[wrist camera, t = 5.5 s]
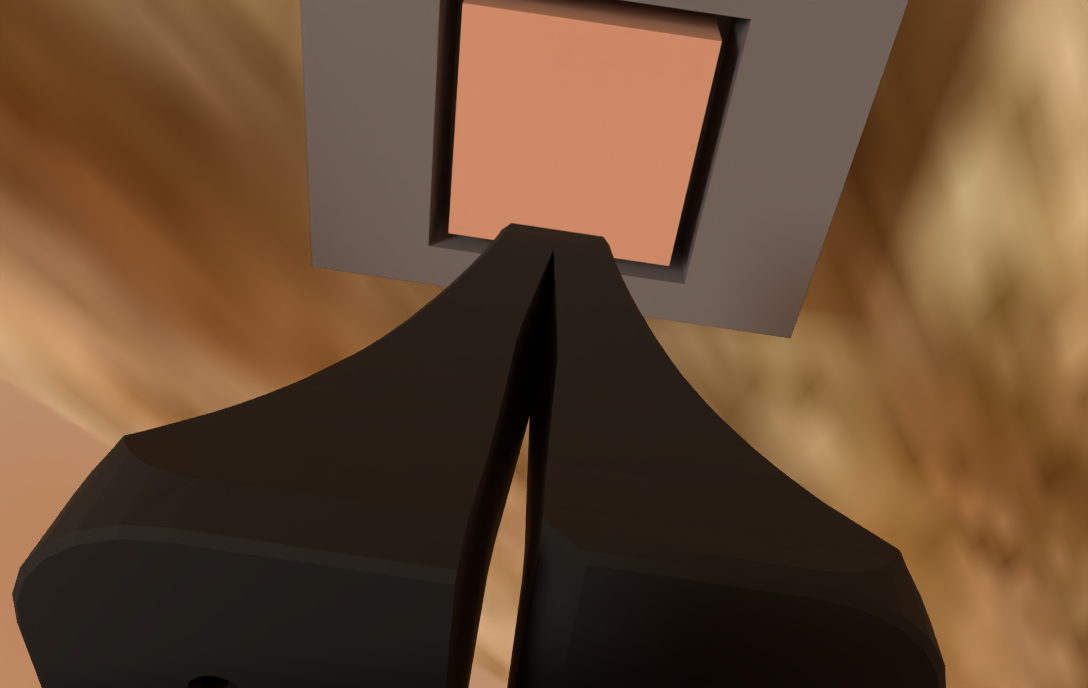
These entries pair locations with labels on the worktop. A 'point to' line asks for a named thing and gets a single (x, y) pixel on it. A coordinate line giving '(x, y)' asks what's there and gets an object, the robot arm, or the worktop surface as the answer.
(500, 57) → the terracotta key
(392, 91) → the keypad
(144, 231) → the worktop surface
